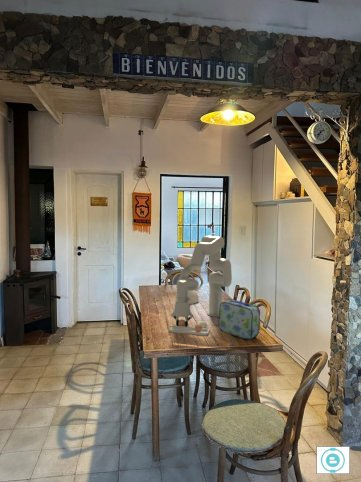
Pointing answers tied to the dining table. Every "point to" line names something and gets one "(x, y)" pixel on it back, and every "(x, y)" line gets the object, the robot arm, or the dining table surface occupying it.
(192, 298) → the kettle
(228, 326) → the lunch box
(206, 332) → the grey channel
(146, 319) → the dining table surface
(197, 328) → the terracotta ball
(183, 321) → the terracotta ball
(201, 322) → the ball cream
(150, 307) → the dining table surface
